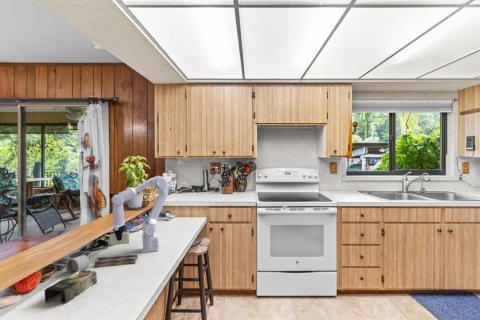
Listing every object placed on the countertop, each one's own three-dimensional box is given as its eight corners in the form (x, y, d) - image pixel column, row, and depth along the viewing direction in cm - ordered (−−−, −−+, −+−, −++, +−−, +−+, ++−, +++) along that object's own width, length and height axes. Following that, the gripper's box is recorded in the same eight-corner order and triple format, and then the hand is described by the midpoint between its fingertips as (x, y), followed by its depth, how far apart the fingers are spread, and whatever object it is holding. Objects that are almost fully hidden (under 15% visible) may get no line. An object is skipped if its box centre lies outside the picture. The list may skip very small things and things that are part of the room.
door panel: (129, 242, 170) (129, 232, 170) (128, 243, 168) (128, 233, 168) (111, 244, 168) (110, 233, 168) (110, 245, 166) (109, 234, 166)
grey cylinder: (91, 268, 150) (90, 253, 150) (78, 275, 142) (77, 259, 142) (74, 267, 153) (73, 253, 153) (61, 274, 145) (59, 258, 145)
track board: (138, 257, 164) (137, 252, 164) (134, 263, 155) (134, 258, 155) (99, 261, 161) (99, 256, 160) (94, 267, 152) (93, 262, 152)
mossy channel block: (80, 280, 137) (80, 267, 137) (99, 282, 135) (98, 268, 135) (44, 303, 117) (43, 288, 117) (65, 305, 115) (64, 290, 115)
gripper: (114, 213, 174) (115, 236, 175) (107, 219, 160) (109, 244, 160) (127, 212, 175) (128, 235, 176) (121, 218, 161) (122, 243, 161)
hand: (120, 239), depth 168 cm, fingers closed on door panel, 2 cm apart
